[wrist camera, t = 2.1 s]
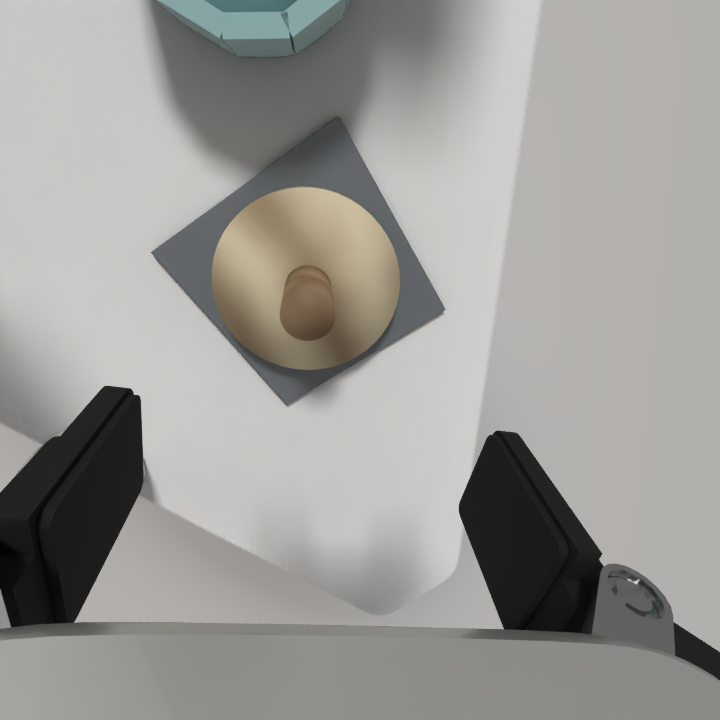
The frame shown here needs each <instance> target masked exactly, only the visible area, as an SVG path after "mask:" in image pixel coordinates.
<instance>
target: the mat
mask: <svg viewBox="0 0 720 720" xmlns="http://www.w3.org/2000/svg"><path fill="white" fill-rule="evenodd" d="M297 186H308V187H318V188H324V189H328V190H331V191H334V192H337V193H340V194H342V195H344V196H346V197H348V198H350V199H352V200H353V201H355V202H356V203H358V204H359V205H361V206H362V207H363V208H364V209H365V210H367V211H368V212H369V213H370V214H371V215H372V216H373V217H374V219H375V220H376V221H377V222H378V223H379V224H380V225H381V227H382V228H383V230H384V231H385V233H386V234H387V236H388V238H389V240H390V242H391V244H392V246H393V248H394V251H395V254H396V257H397V261H398V266H399V272H400V290H399V297H398V302H397V306H396V309H395V312H394V315H393V317H392V319H391V321H390V323H389V325H388V326H387V328H386V329H385V331H384V332H383V334H382V335H381V336H380V337H379V339H378V340H377V341H376V342H375V343H374V344H373V345H372V346H371V347H369V348H368V349H367V350H366V351H365V352H363V353H362V354H360V355H359V356H357V357H355V358H353V359H352V360H350V361H348V362H345V363H343V364H340V365H337V366H333V367H329V368H324V369H317V370H301V369H292V368H287V367H283V366H280V365H277V364H274V363H271V362H269V361H267V360H264V359H262V358H261V357H259V356H257V355H256V354H254V353H252V352H251V351H250V350H248V349H247V348H246V347H245V346H243V345H242V344H241V343H240V342H239V341H238V340H237V339H236V338H235V337H234V335H233V334H232V333H231V332H230V330H229V329H228V328H227V326H226V324H225V323H224V321H223V319H222V318H221V315H220V313H219V311H218V308H217V306H216V302H215V299H214V295H213V289H212V264H213V258H214V254H215V251H216V248H217V245H218V243H219V241H220V238H221V236H222V234H223V233H224V231H225V230H226V228H227V227H228V225H229V224H230V222H231V221H232V220H233V219H234V218H235V217H236V216H237V215H238V214H239V213H240V212H241V211H242V210H243V209H244V208H245V207H247V206H248V205H249V204H250V203H252V202H253V201H255V200H256V199H258V198H260V197H261V196H263V195H266V194H268V193H270V192H273V191H276V190H280V189H284V188H289V187H297ZM151 253H152V254H153V255H154V257H155V258H156V259H157V260H158V261H159V262H160V263H161V264H162V266H163V267H164V268H165V269H166V270H167V271H168V272H169V273H170V275H171V276H172V277H173V278H174V279H175V280H176V281H177V282H178V284H179V285H180V286H181V287H182V288H183V289H184V290H185V291H186V292H187V294H188V295H189V296H190V297H191V298H192V299H193V300H194V301H195V303H196V304H197V305H198V306H199V307H200V308H201V309H202V310H203V312H204V313H205V314H206V315H207V316H208V317H209V318H210V319H211V321H212V322H213V323H214V324H215V325H216V326H217V327H218V328H219V330H220V331H221V332H222V333H223V334H224V335H225V336H226V337H227V338H228V340H229V341H230V342H231V343H232V344H233V345H234V346H235V347H236V349H237V350H238V351H239V352H240V353H241V354H242V355H243V356H244V358H245V359H246V360H247V361H248V362H249V363H250V364H251V365H252V367H253V368H254V369H255V370H256V371H257V372H258V373H259V374H260V376H261V377H262V378H263V379H264V380H265V381H266V382H267V383H268V384H269V386H270V387H271V388H272V389H273V390H274V391H275V392H276V393H277V395H278V396H279V397H280V398H281V399H282V400H283V401H284V402H285V404H286V405H287V404H288V403H290V402H292V401H293V400H295V399H297V398H298V397H300V396H302V395H303V394H305V393H307V392H308V391H310V390H312V389H313V388H315V387H317V386H318V385H320V384H322V383H323V382H325V381H327V380H328V379H330V378H332V377H333V376H335V375H337V374H338V373H340V372H342V371H343V370H345V369H347V368H348V367H350V366H352V365H353V364H355V363H357V362H358V361H360V360H362V359H363V358H365V357H367V356H368V355H370V354H372V353H373V352H375V351H377V350H378V349H380V348H382V347H383V346H385V345H387V344H388V343H390V342H392V341H394V340H395V339H397V338H399V337H400V336H402V335H404V334H405V333H407V332H409V331H410V330H412V329H414V328H415V327H417V326H419V325H420V324H422V323H424V322H425V321H427V320H429V319H430V318H432V317H434V316H435V315H437V314H439V313H440V312H442V311H444V310H445V308H444V306H443V304H442V302H441V300H440V299H439V297H438V295H437V293H436V291H435V290H434V288H433V286H432V284H431V282H430V281H429V279H428V277H427V275H426V273H425V272H424V270H423V268H422V266H421V264H420V262H419V261H418V259H417V257H416V255H415V253H414V252H413V250H412V248H411V246H410V244H409V243H408V241H407V239H406V237H405V235H404V234H403V232H402V230H401V228H400V226H399V225H398V223H397V221H396V219H395V217H394V215H393V214H392V212H391V210H390V208H389V206H388V205H387V203H386V201H385V199H384V197H383V196H382V194H381V192H380V190H379V188H378V187H377V185H376V183H375V181H374V179H373V178H372V176H371V174H370V172H369V170H368V168H367V167H366V165H365V163H364V161H363V159H362V158H361V156H360V154H359V152H358V150H357V149H356V147H355V145H354V143H353V141H352V140H351V138H350V136H349V134H348V132H347V130H346V129H345V127H344V125H343V123H342V121H341V120H340V118H339V116H338V117H337V118H336V119H334V120H333V121H331V122H330V123H329V124H327V125H326V126H325V127H323V128H322V129H320V130H319V131H318V132H316V133H315V134H314V135H312V136H311V137H309V138H308V139H307V140H305V141H304V142H303V143H301V144H300V145H298V146H297V147H296V148H294V149H293V150H291V151H290V152H289V153H287V154H286V155H285V156H283V157H282V158H280V159H279V160H278V161H276V162H275V163H274V164H272V165H271V166H269V167H268V168H267V169H265V170H264V171H263V172H261V173H260V174H258V175H257V176H256V177H254V178H253V179H252V180H250V181H249V182H247V183H246V184H245V185H243V186H242V187H240V188H239V189H238V190H236V191H235V192H234V193H232V194H231V195H229V196H228V197H227V198H225V199H224V200H223V201H221V202H220V203H218V204H217V205H216V206H214V207H213V208H212V209H210V210H209V211H207V212H206V213H205V214H203V215H202V216H201V217H199V218H198V219H196V220H195V221H194V222H192V223H191V224H189V225H188V226H187V227H185V228H184V229H183V230H181V231H180V232H178V233H177V234H176V235H174V236H173V237H172V238H170V239H169V240H167V241H166V242H165V243H163V244H162V245H161V246H159V247H158V248H156V249H155V250H154V251H152V252H151Z"/></svg>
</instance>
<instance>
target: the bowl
mask: <svg viewBox="0 0 720 720" xmlns="http://www.w3.org/2000/svg"><path fill="white" fill-rule="evenodd" d="M156 1H158V2H159V3H160V4H161V5H162V6H163V7H164V8H165V9H166V10H167V11H169V12H170V13H171V14H172V15H173V16H174V17H175V18H176V19H177V20H179V21H180V22H181V23H183V24H185V25H186V26H188V27H189V28H191V29H193V30H194V31H196V32H198V33H199V34H201V35H202V36H204V37H206V38H207V39H209V40H210V41H212V42H213V43H215V44H217V45H219V46H220V47H222V48H223V49H225V50H227V51H228V52H230V53H232V54H233V55H237V56H238V57H239V56H250V57H255V58H275V57H282V56H290V55H294V53H295V54H297V53H299V52H300V51H301V50H303V49H305V48H307V47H308V46H310V45H311V44H313V43H314V42H316V41H318V40H319V39H320V38H321V37H322V36H323V35H324V34H325V33H327V32H328V31H329V30H330V28H331V27H332V26H334V25H335V24H336V23H338V22H339V21H340V20H341V19H342V17H344V15H345V12H346V10H347V8H348V5H349V3H350V0H156Z"/></svg>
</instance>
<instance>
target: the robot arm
mask: <svg viewBox="0 0 720 720" xmlns="http://www.w3.org/2000/svg"><path fill="white" fill-rule="evenodd" d="M143 479H144V471H143V446H142V421H141V399H140V396H139V395H133V391H132V389H130V388H121V387H113V386H104V387H103V388H102V389H101V390H100V391H99V392H98V394H97V395H96V396H95V397H94V398H93V399H92V400H91V402H90V403H89V404H88V405H87V406H86V407H85V408H84V410H83V411H82V412H81V413H80V414H79V415H78V416H77V418H76V419H75V420H74V421H73V422H72V423H71V424H70V426H69V427H68V428H67V429H66V430H65V431H64V432H63V434H62V435H61V436H54V437H52V438H50V439H49V440H48V441H47V442H46V443H45V444H44V445H43V446H42V447H41V448H40V449H39V451H38V452H37V453H36V454H35V455H34V456H33V457H32V458H31V459H30V461H29V462H28V463H27V464H26V465H25V466H24V467H23V468H22V469H21V470H20V472H19V473H18V474H17V475H16V476H15V477H14V478H13V479H12V480H11V482H10V483H9V484H8V485H7V486H6V487H5V488H4V489H3V490H2V491H1V493H0V720H720V652H718V651H717V650H716V649H714V648H712V647H711V646H709V645H708V644H706V643H705V642H703V641H702V640H700V639H699V638H697V637H696V636H694V635H693V634H691V633H689V632H688V631H686V630H685V629H683V628H681V627H680V626H679V625H677V624H676V623H674V622H673V614H672V610H671V606H670V604H669V603H668V601H667V599H666V597H665V596H664V595H663V594H662V592H661V591H660V590H659V589H658V588H657V587H656V586H655V585H654V584H653V583H652V582H651V581H649V580H648V579H647V578H646V577H644V576H643V575H641V574H640V573H638V572H637V571H635V570H633V569H631V568H629V567H626V566H623V565H619V564H608V565H606V566H603V565H602V563H601V562H600V560H599V558H600V557H601V555H602V553H601V551H600V550H599V549H598V547H597V546H596V544H595V543H594V541H593V540H592V539H591V537H590V536H589V534H588V533H587V532H586V530H585V528H584V527H583V526H582V524H581V523H580V521H579V520H578V518H577V517H576V516H575V514H574V513H573V511H572V510H571V508H570V507H569V506H568V504H567V503H566V501H565V500H564V498H563V497H562V496H561V494H560V493H559V491H558V490H557V488H556V487H555V486H554V484H553V483H552V481H551V480H550V478H549V477H548V476H547V474H546V473H545V471H544V470H543V468H542V467H541V466H540V464H539V463H538V461H537V460H536V458H535V457H534V456H533V454H532V453H531V451H530V450H529V448H528V447H527V446H526V444H525V443H524V441H523V440H522V438H521V437H520V436H519V435H518V434H517V433H514V432H505V431H495V432H494V433H493V435H489V436H488V437H487V439H486V441H485V444H484V446H483V449H482V451H481V453H480V456H479V458H478V460H477V463H476V465H475V467H474V470H473V472H472V474H471V477H470V479H469V482H468V484H467V486H466V489H465V491H464V493H463V496H462V498H461V500H460V503H459V514H460V517H461V520H462V522H463V525H464V527H465V530H466V532H467V535H468V538H469V540H470V543H471V545H472V548H473V550H474V553H475V555H476V558H477V561H478V563H479V566H480V568H481V571H482V573H483V576H484V579H485V581H486V584H487V586H488V589H489V592H490V594H491V597H492V599H493V602H494V604H495V607H496V609H497V612H498V615H499V617H500V620H501V623H502V625H503V627H504V629H505V630H503V629H502V630H501V629H467V628H431V627H391V626H346V625H298V624H297V625H296V624H240V623H239V624H238V623H178V622H174V623H173V622H112V623H111V622H81V623H73V622H74V621H75V620H76V618H77V616H78V614H79V612H80V610H81V608H82V606H83V604H84V602H85V600H86V598H87V596H88V594H89V592H90V590H91V588H92V586H93V584H94V582H95V581H96V579H97V576H98V574H99V573H100V571H101V569H102V567H103V565H104V563H105V561H106V559H107V557H108V555H109V553H110V550H111V549H112V547H113V545H114V543H115V541H116V539H117V537H118V535H119V533H120V531H121V529H122V527H123V525H124V523H125V521H126V519H127V517H128V515H129V513H130V511H131V509H132V507H133V505H134V503H135V501H136V499H137V497H138V495H139V493H140V491H141V488H142V485H143Z"/></svg>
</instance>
